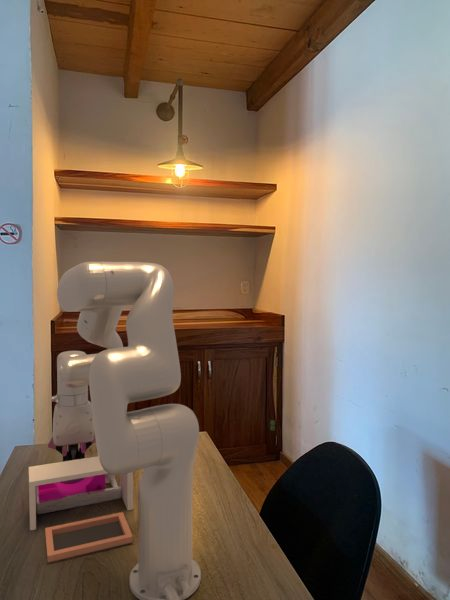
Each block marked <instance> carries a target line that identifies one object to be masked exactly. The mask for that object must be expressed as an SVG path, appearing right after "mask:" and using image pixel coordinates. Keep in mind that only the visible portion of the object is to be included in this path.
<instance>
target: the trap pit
mask: <svg viewBox="0 0 450 600" xmlns="http://www.w3.org/2000/svg"><path fill="white" fill-rule="evenodd" d="M44 530H45V531H44V532H45V534H44V535H45V546H46V547H45V548H46V561H47V565H50V564H53V563H57V562H62V561H65V560H70V559H74V558H78V557H82V556H86V555H90V554H95V553H100V552H104V551H108V550H111V549H115V548H116V549H117V548H120V547H124V546H128V545H132V544H134V543H133V542H134V541H133V539H134V536H133V534H132V531H131V528H130V526H129V524H128V521H127V519H126V517H125V513H124V511H121V512H117V513H111V514H106V515H102V516H96V517H92V518H88V519H82V520H77V521H72V522H68V523H64V524H58V525H53V526H49V527H45V528H44Z"/></svg>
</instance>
